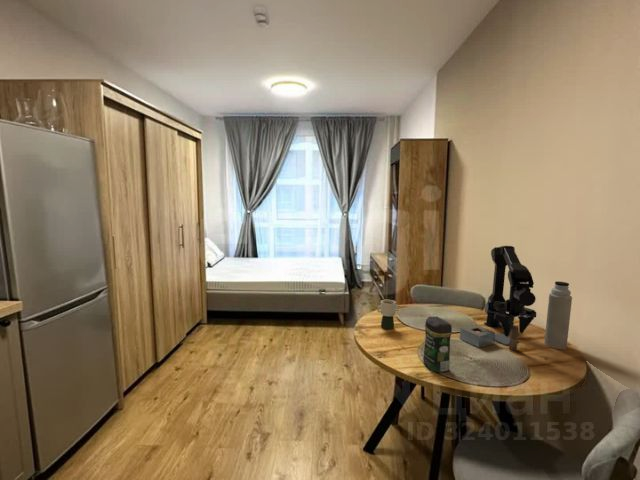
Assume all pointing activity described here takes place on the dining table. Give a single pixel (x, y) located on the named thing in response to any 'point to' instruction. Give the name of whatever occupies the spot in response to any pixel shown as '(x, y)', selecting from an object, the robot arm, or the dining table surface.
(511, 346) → the brown cylinder rod
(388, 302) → the character mug
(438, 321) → the coffee jar
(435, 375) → the dining table surface
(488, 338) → the plate
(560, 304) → the thermos bottle
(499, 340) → the pad
